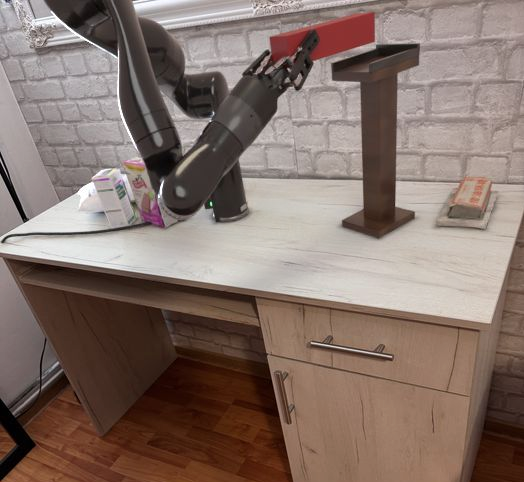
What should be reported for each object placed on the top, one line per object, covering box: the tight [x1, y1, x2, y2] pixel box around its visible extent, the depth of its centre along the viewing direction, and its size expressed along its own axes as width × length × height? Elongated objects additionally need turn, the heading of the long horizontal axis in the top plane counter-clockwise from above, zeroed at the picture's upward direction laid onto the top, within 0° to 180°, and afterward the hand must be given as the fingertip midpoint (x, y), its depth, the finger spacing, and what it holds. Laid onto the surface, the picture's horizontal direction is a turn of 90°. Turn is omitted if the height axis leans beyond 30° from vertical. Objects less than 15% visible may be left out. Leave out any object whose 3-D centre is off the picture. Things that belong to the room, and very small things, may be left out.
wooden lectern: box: [330, 42, 421, 240], centre depth 98 cm, size 13×11×34 cm
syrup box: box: [90, 167, 138, 229], centre depth 129 cm, size 6×6×14 cm
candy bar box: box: [122, 156, 179, 229], centre depth 125 cm, size 11×5×16 cm, turn 47°
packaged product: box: [436, 176, 499, 230], centre depth 105 cm, size 18×5×10 cm
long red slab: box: [268, 11, 376, 69], centre depth 80 cm, size 20×4×4 cm, turn 128°
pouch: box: [77, 174, 136, 214], centre depth 144 cm, size 8×19×20 cm
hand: (305, 35), depth 78 cm, fingers closed on long red slab, 4 cm apart
